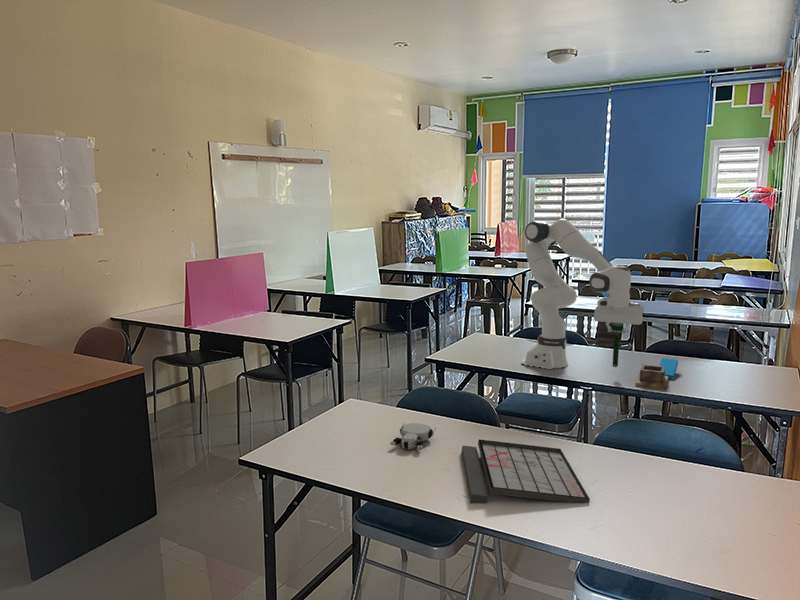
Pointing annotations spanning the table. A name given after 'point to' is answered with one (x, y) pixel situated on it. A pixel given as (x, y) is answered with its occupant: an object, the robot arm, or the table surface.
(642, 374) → the stand
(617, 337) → the flashlight
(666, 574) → the table surface
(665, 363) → the blue slanted block
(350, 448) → the table surface
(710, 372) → the table surface
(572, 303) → the robot arm
